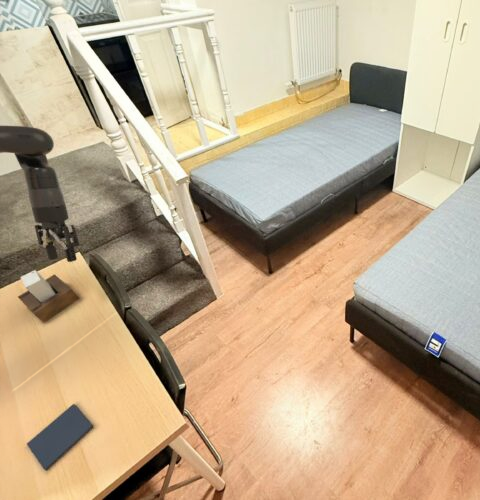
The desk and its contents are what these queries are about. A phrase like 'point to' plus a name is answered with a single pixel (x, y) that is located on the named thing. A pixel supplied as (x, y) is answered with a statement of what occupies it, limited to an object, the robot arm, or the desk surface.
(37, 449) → the mat
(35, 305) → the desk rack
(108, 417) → the desk surface
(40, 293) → the cosmetic box
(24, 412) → the desk surface
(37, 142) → the robot arm
